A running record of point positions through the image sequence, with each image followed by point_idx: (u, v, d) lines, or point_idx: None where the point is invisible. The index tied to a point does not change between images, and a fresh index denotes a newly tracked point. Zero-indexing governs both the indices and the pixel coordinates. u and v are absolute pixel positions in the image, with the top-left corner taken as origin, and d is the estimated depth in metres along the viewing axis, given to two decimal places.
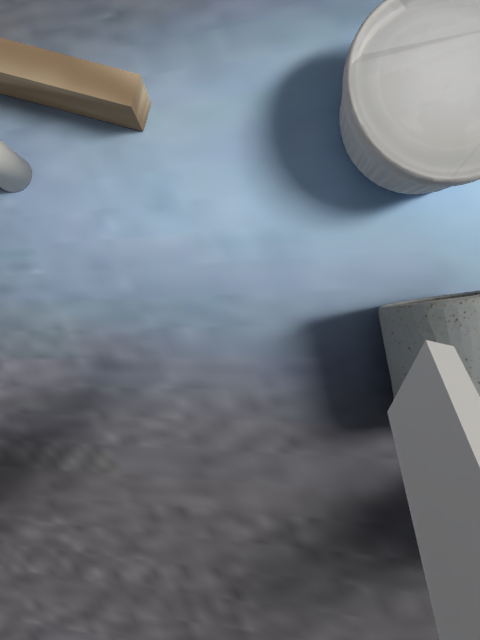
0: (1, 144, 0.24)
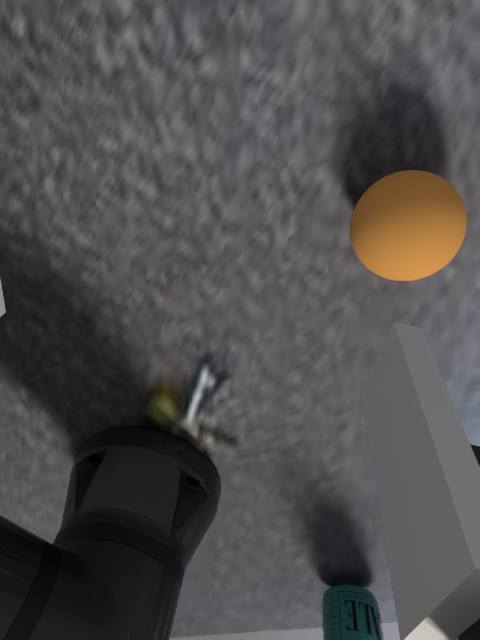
0: None
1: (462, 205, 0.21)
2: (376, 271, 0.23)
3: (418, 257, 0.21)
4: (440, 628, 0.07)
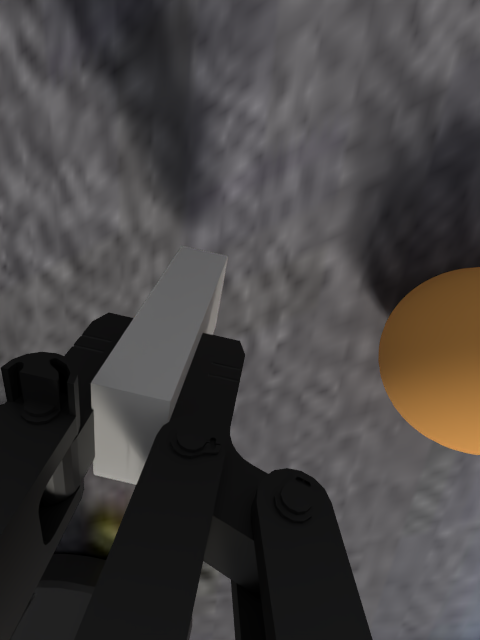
0: None
1: None
2: (425, 435, 0.13)
3: None
4: (144, 462, 0.08)
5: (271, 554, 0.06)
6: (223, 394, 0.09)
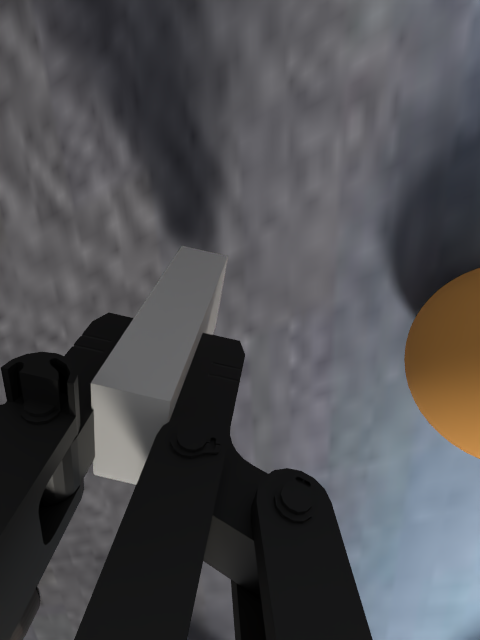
0: None
1: (474, 295, 0.11)
2: None
3: None
4: (144, 462, 0.08)
5: (271, 554, 0.06)
6: (223, 394, 0.09)
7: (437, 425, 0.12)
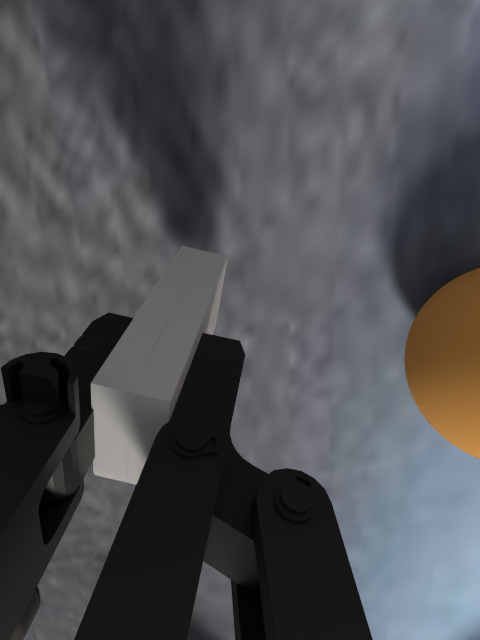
0: None
1: (474, 295, 0.11)
2: None
3: None
4: (144, 462, 0.08)
5: (271, 554, 0.06)
6: (223, 394, 0.09)
7: (437, 425, 0.12)
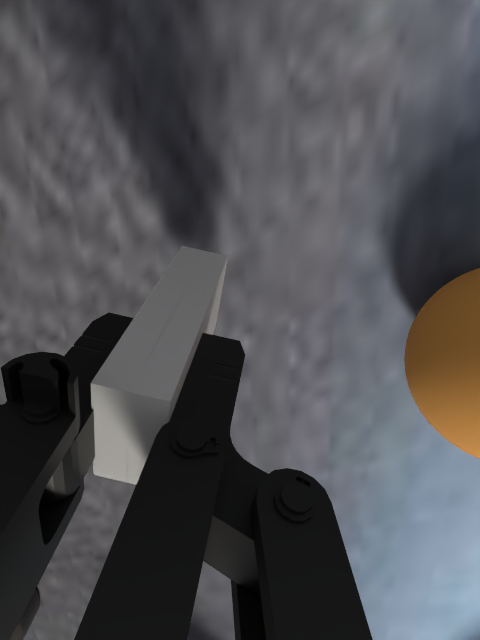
0: None
1: (474, 295, 0.11)
2: None
3: None
4: (144, 462, 0.08)
5: (271, 554, 0.06)
6: (223, 394, 0.09)
7: (437, 425, 0.12)
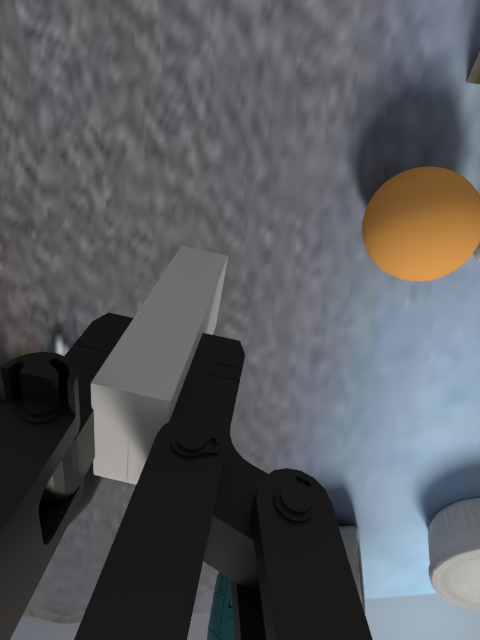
0: None
1: (394, 181, 0.21)
2: None
3: None
4: (144, 462, 0.08)
5: (271, 554, 0.06)
6: (223, 394, 0.09)
7: (377, 257, 0.22)
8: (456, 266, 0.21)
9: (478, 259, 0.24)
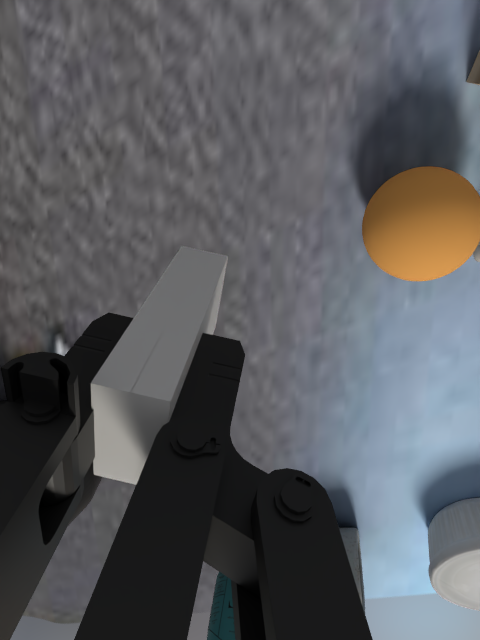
0: None
1: (393, 181, 0.21)
2: None
3: None
4: (144, 462, 0.08)
5: (271, 554, 0.06)
6: (223, 394, 0.09)
7: (377, 257, 0.22)
8: (456, 266, 0.21)
9: (477, 259, 0.24)
